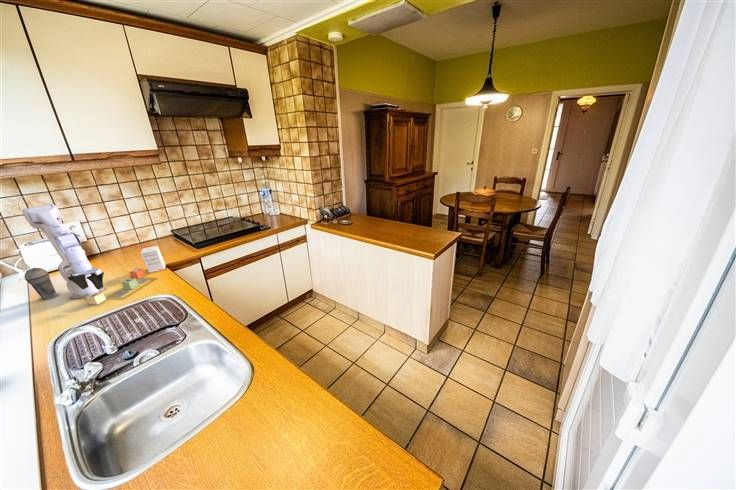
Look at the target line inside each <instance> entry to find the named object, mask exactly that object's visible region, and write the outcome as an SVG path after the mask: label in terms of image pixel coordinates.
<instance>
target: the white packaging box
mask: <svg viewBox="0 0 736 490" xmlns="http://www.w3.org/2000/svg"><path fill="white" fill-rule="evenodd" d="M140 256H141V258H142V261H143V263H144V265H145V268H146V269H147V272H148V274H149V273H153V272H159V271H163V270H165V269H166V266H167V265H166V262H165V260H164V257H163V255H162V253H161V250H160V248H159V246H158V245H154V246H153V245H152V246H148V247H144V248H141V250H140Z"/></svg>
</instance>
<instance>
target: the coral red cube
mask: <svg viewBox="0 0 736 490" xmlns="http://www.w3.org/2000/svg"><path fill="white" fill-rule="evenodd" d="M128 273H129V275H130V278H136V279H141V278H142V277H144V276H145V275H146V274H145V271H144V269H143V268H135V269H133V270H131V271H129V272H128Z"/></svg>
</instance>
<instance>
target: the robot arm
mask: <svg viewBox="0 0 736 490" xmlns="http://www.w3.org/2000/svg"><path fill="white" fill-rule="evenodd" d="M21 213H22V215H23V217H24V218H25V219H26V220H27V223H29V225H30V227H32V228H33V229H36V230H37V229H38V230H40V231H42V233H44V234H45V236H46V238H47V239H48V240H49V242H50V243H51V245H52V247H53V248H54V249H55V251H56V253H57V254H58V256H59V257H60V259H61V260H62V261H61V262H60V263H59V265H58V266H57V270H58V271H59V273H60V275H61V277H62V278H63V280H64V281H65V282H66V287H67V289H68V291H69V293H70V294H71V296H70V299H87V298H86V297H88V296H90V295H92V294H94V293H100V292H101V291H104V290H105V288H104V280H103V278H104V274H105V272H104V271H102V270H101V269H102V268H97V267H94V266H92V264H91V263H90V261H89V259H88V257H87V255H86V253H85V251H84V249H83V247H82V242H81V241H82V240H81V239H80V237H79V236H78V234H77V233H76V232H74V231H71V230H70V228H68V226H67V225H66V224H63V221H62V214H61V211H60V210H59V208H58V207H57V206H56V205H55V204H53V203H50V204H46V205H40V206H35V207H29V208H23V209H22V210H21Z"/></svg>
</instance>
